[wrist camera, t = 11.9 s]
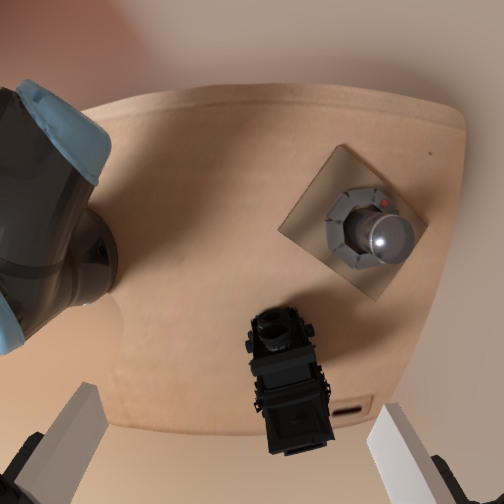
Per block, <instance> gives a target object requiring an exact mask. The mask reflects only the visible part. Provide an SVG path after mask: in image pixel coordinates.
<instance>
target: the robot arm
mask: <svg viewBox="0 0 504 504" xmlns="http://www.w3.org/2000/svg"><path fill="white" fill-rule="evenodd" d="M16 91H17V92H15V91H12V90H9V89H7V88H4V87H1V86H0V355H6V354H8V353H10V352H11V351H13V350H15V349H16V348H18V347H20V346H22V345H23V344H24V342H25V341H26V340H27V339H29V338H30V337H31V336H32V335H34V334H35V333H36V332H37V331H38V330H40V329H41V328H42V327H43V326H45V325H46V324H47V323H48V322H50V321H51V320H52V319H53V318H54V317H56V316H57V315H58V314H60V313H61V312H62V311H63V310H65V309H66V308H68V307H73V306H83V305H88V304H91V303H93V302H95V301H96V300H98V299H99V298H100V297H102V296H103V295H104V294H105V293H106V292H107V291H108V290H109V289H110V287H111V286H112V284H113V282H114V279H115V276H116V272H117V250H116V246H115V242H114V239H113V236H112V234H111V232H110V230H109V228H108V227H107V225H106V224H105V222H104V221H103V220H102V219H101V218H100V217H99V216H98V215H97V214H96V213H94V212H93V211H91V210H89V209H87V208H85V207H86V205H87V203H88V201H89V199H90V196H91V194H92V192H93V190H94V188H95V186H97V185H98V183H99V180H98V179H99V176H100V174H101V172H102V170H103V167H104V165H105V163H106V161H107V159H108V157H109V155H110V152H111V146H112V145H111V139H110V136H109V135H108V133H107V132H106V131H105V130H104V129H103V128H102V127H100V126H99V125H98V124H96V123H95V122H94V121H92V120H91V119H90V118H88V117H87V116H85V115H84V114H83V113H81V112H80V111H78V110H77V109H75V108H74V107H72V106H71V105H70V104H68V103H67V102H65V101H64V100H62V99H61V98H59V97H58V96H56V95H55V94H53V93H52V92H50V91H49V90H47V89H45V88H44V87H42V86H40V85H39V84H37V83H35V82H34V81H32V80H30V79H25V80H23V81H22V83H21V84H19V85H18V86H17V88H16ZM107 427H108V422H107V419H106V416H105V412H104V409H103V406H102V403H101V399H100V396H99V392H98V389H97V386H96V385H92V384H89V383H85V382H83V383H82V384H81V385H80V387H79V388H78V389H77V391H76V392H75V393H74V395H73V396H72V397H71V399H70V400H69V401H68V403H67V404H66V406H65V407H64V408H63V410H62V411H61V413H60V414H59V415H58V417H57V418H56V420H55V421H54V422H53V424H52V425H51V427H50V428H49V430H48V431H47V433H46V434H45V435H44V434H42V433H39V432H36V433H34V434H33V435H31V436H29V437H28V439H27V440H26V441H25V443H24V444H23V447H21V449H20V450H19V453H17V454H16V456H15V457H14V458H13V460H12V461H11V463H10V465H9V466H8V468H7V469H6V470H5V472H4V473H3V474H2V475H1V474H0V504H70V503H71V501H72V498H73V496H74V494H75V492H76V490H77V487H78V486H79V483H80V481H81V479H82V477H83V475H84V473H85V471H86V469H87V467H88V465H89V463H90V461H91V458H92V457H93V455H94V453H95V451H96V449H97V447H98V444H99V443H100V440H101V439H102V437H103V435H104V433H105V431H106V429H107ZM366 442H367V444H368V446H369V449H370V451H371V454H372V456H373V458H374V461H375V464H376V466H377V468H378V471H379V473H380V476H381V478H382V481H383V483H384V486H385V488H386V491H387V493H388V496H389V498H390V501H391V503H392V504H480V503H479V502H476V501H469V500H468V499H467V497H466V496H465V494H464V492H463V490H462V489H461V487H460V485H459V484H458V482H457V480H456V478H455V477H453V473H452V472H451V470H450V468H449V467H448V465H447V463H446V462H445V460H443V459H442V458H441V457H440V456H438V455H435V456H432V457H430V456H429V454H428V452H427V451H426V449H425V447H424V445H423V444H422V442H421V440H420V439H419V437H418V436H417V434H416V432H415V430H414V429H413V427H412V425H411V424H410V422H409V421H408V419H407V417H406V415H405V414H404V412H403V411H402V409H401V407H400V406H399V404H398V403H397V402H396V403H389V404H384V405H383V407H382V410H381V412H380V414H379V416H378V418H377V420H376V422H375V424H374V427H373V429H372V431H371V433H370V434H369V436H368V438H367V440H366ZM483 504H504V494H502V495H501V496H500V497H499V498H498V499H496V500H495V501H491V502H487V503H483Z"/></svg>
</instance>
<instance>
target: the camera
mask: <svg viewBox="0 0 504 504" xmlns="http://www.w3.org/2000/svg"><path fill="white" fill-rule="evenodd" d="M255 317H256V318H254V319H253V322H252V319H251V325H252V330H251V331H249V332H248V337H249V340H248V341H245V346H246V349H247V352H248V353H252V352H253V357H254V358H253V360H251V361H250V363H249V365H250V366H251V371H252V374H253V376H254V377H256V376H257V382H254V384H255V387H256V389H257V391H256V390H255V394H256V397H257V398H255V399H257V400H256V402H255V403H254V406H255V408H256V405H258V407H260V408H256V411H257V413H258V412H259V411H261V410H263V411H262V416H263V418H265V422H266V431H267V439H268V448H269V453H271V454H273V455H274V454H277V453H281V452H284V456H289V455H293V454H298V453H302V452H306V451H310V450H314V449H317V448H321V447H325V446H327V441H329V440H335V438H334V434H333V431H332V427H331V424H330V420H329V417H328V416H330V413H329V408H328V403H329V397H330V395H328V394H329V393H330V394H331V389H330V384H327V380H326V379H325V377H324V372H323V374H322V373H321V372H320V371H322V368H321V365H319V366H318V365H317V362H316V361H317V360H316V356H315V352H314V349H313V348H315V347H316V345H314V346H312V344H311V342H309V340H308V336H309V337H312V336H314V333H315V332H314V329H313V326H312V324H308V325H306V327H305V324H304V320H303V318H300V317H299V314H298V311H297V309H296V307H295V310H294V309H293V308H290V307H286V308H282V309H281V308H279V309H273V310H268V311H266V312H264V313H262V314H260V315H257V316H255ZM252 331H253V333H252ZM324 380H325V382H324ZM327 387H329V390H328V389H327ZM326 389H327V390H326Z"/></svg>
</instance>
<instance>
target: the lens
mask: <svg viewBox="0 0 504 504" xmlns="http://www.w3.org/2000/svg"><path fill="white" fill-rule="evenodd" d="M344 233H345V236H346V238H347V239H348V240H349V241H350V242H351V243H353V244H354V245H356V246H358V247H360V248H361V249H363V250H365V251H367V252H368V253H370V254H372V255H373V256H374V257H375V258H377V259H378V260H379V261H380V262H381V263H387V264H398V263H401V262H403V261H404V260H405V259H406V258H407V257H408V256H409V255H410V253H411V252H412V249H413V247H414V242H415V235H414V230H413V228H412V226H411V224H410V223H409V222H408V221H407V220H406V219H404V218H402V217H400V216H397V215H393V214H385V213H381V212H376V211H372V210H367V209H356V210H354V211H352V212H351V213H350V214H349V215H348V216H347V218H346V220H345V223H344Z"/></svg>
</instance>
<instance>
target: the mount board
mask: <svg viewBox="0 0 504 504" xmlns="http://www.w3.org/2000/svg"><path fill="white" fill-rule="evenodd" d="M356 209H367V210H372V211H376V212H381V213H385V214H393V215H397V216H400V217H402V218H404V219H406V220H407V221H408V222H409V223H410V224H411V226H412V228H413V230H414V235H415V242H414V247H415V245H416V244H417V242H418V241H419V239H420V238H421V236H422V234H423V233H424V231H425V230H426V228H427V226H428V225H427V224H426V223H425V222H424V221H423V220H422V219H421V218H420V217H419V216H418V215H417V214H416V213H415V212H414V211H413V210H412V209H411V208H410V207H409V206H408V205H407V204H406V203H405V202H404V201H403V200H402V199H401V198H400V197H399V196H398V195H397V194H396V193H395V192H394V191H393V190H392V189H391V188H389V187H388V186H387V185H386V184H385V183H384V182H383V181H382V180H381V179H380V178H378V177H377V176H376V175H375V174H374V173H373V172H372V171H371V170H369V169H368V168H367V167H366V166H365V165H364V164H362V163H361V162H360V161H359V160H358V159H356V158H355V157H354V156H353V155H352V154H350V153H349V152H348V151H347V150H345V149H344V148H343V147H342V146H340V145H338V146H337V147H336V148H335V149H334V151H333V152H332V154H331V155H330V157H329V158H328V159H327V161H326V162H325V164H324V165H323V167H322V168H321V169H320V171H319V172H318V174H317V175H316V176H315V178H314V179H313V181H312V182H311V184H310V185H309V186H308V188H307V189H306V191H305V192H304V193H303V195H302V196H301V198H300V199H299V200H298V202H297V203H296V205H295V206H294V208H293V209H292V210H291V212H290V213H289V215H288V216H287V217H286V219H285V220H284V222H283V223H282V224H281V226H280V227H279V229H278V231H279V232H280V233H282V234H283V235H285V236H286V237H287V238H289V239H290V240H292V241H293V242H295V243H296V244H297V245H299V246H300V247H302V248H303V249H304V250H306V251H307V252H309V253H310V254H311V255H313V256H314V257H316V258H317V259H318V260H320V261H321V262H322V263H324V264H325V265H327V266H328V267H329V268H331V269H332V270H333V271H335V272H336V273H338V274H339V275H340V276H342V277H343V278H344V279H346V280H347V281H348V282H350V283H351V284H352V285H354V286H355V287H357V288H358V289H359V290H361V291H362V292H363V293H365V294H366V295H367V296H369V297H370V298H371V299H373V300H374V301H375V302H376V301H377V299H378V298H379V297H380V295H381V294H382V293H383V291H384V290H385V289H386V287H387V286H388V284H389V283H390V282H391V280H392V279H393V278H394V276H395V275H396V273H397V272H398V271H399V269H400V268H401V266H402V265H403V263H404V262H405V260H406V259H407V258H406V259H405V260H404V261H403V262H401V263H398V264H387V263H381V262H380V261H379V260H378V259H377V258H375V257H374V256H373V255H372V254H370V253H368V252H367V251H365V250H363V249H361V248H360V247H358V246H356V245H354V244H353V243H351V242H350V241H349V240H348V239H347V238H346V236H345V233H344V223H345V220H346V218H347V216H348V215H349V214H350V213H351V212H352V211H354V210H356ZM414 247H413V248H414ZM412 250H413V249H412Z"/></svg>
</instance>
